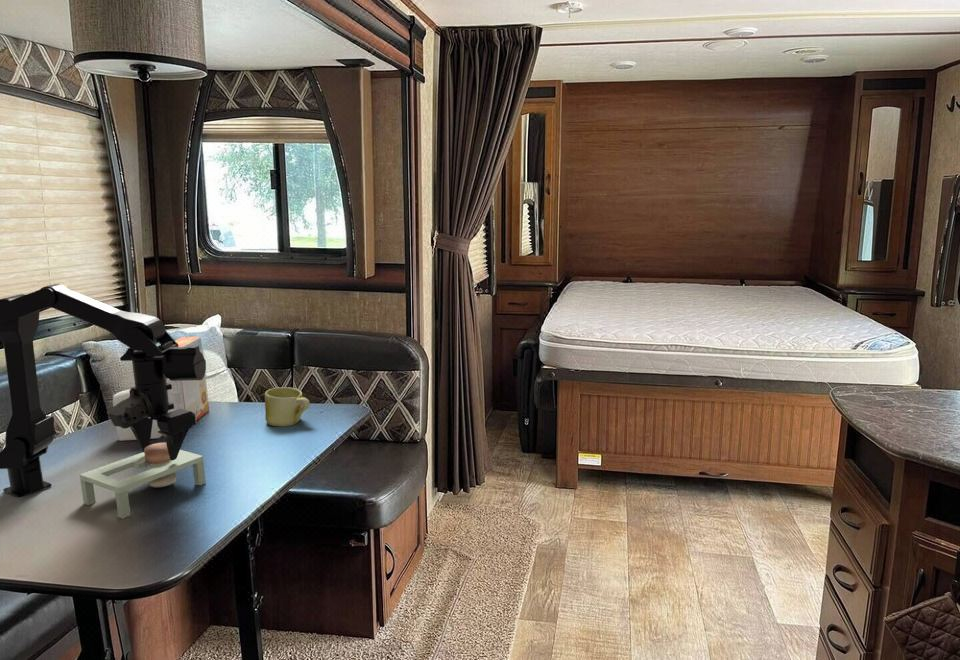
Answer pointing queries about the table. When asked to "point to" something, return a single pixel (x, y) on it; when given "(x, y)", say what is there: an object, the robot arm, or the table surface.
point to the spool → (158, 455)
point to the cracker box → (189, 387)
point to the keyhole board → (136, 476)
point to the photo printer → (127, 433)
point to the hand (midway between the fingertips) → (159, 455)
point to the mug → (284, 406)
